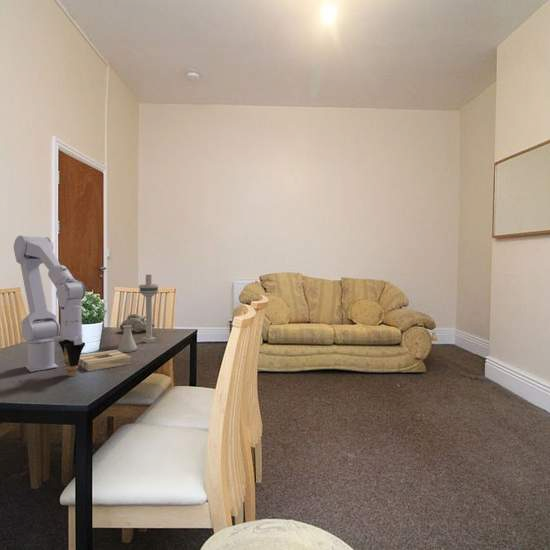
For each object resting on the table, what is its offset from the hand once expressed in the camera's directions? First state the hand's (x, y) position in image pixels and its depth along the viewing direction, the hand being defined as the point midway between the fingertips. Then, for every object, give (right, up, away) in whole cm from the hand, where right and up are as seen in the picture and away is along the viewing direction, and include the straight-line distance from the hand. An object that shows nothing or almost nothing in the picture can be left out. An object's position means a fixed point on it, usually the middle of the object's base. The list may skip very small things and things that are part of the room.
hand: (71, 364), depth 118 cm
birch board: (+3, -3, +14) cm, 15 cm away
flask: (+4, -3, +34) cm, 34 cm away
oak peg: (0, -3, 0) cm, 3 cm away
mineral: (-7, -2, +77) cm, 77 cm away
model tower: (+7, -2, +51) cm, 52 cm away
